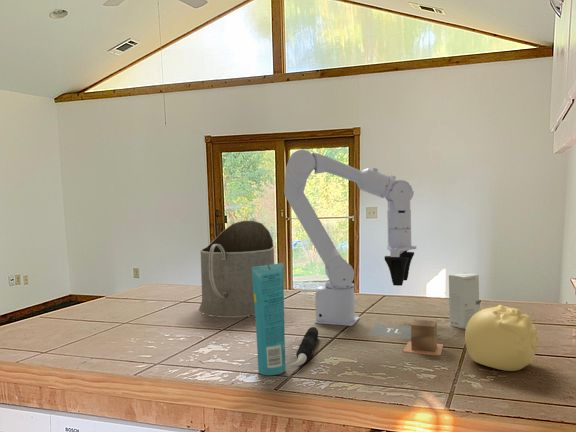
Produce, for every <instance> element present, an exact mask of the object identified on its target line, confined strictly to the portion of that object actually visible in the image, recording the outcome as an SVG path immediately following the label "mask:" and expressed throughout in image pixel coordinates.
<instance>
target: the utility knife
mask: <svg viewBox="0 0 576 432" xmlns="http://www.w3.org/2000/svg"><path fill="white" fill-rule="evenodd" d="M318 337H319V330H318V328H316V327H315V326H311V327H309V328H308V329H307V330H306V332H305V334H304V336H303V338H302V339H301V343H300V344H299V347H298V348H297V351H296V359H297V360H296V361H295V362H292V363H290V364H285V367H299V366H301V365H303V364H305V363H307V362H309V361H310V360H311V358H312V355H313V353H314V350H315V348H316V347H315V346H316V344H317V341H318Z"/></svg>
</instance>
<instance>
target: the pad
mask: <svg viewBox="0 0 576 432" xmlns="http://www.w3.org/2000/svg"><path fill="white" fill-rule="evenodd" d="M443 349H444V343H437V347H436V350H435V352H429V351H418V350H412V348H411V341H410V340H408V342H407V343H406V345H405V347H404V349H403V351H402V352H403V353H410V354H418V355H419V354H420V355H428V356H429V355H430V356H440V357H441V355H442V351H443Z"/></svg>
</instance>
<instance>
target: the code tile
mask: <svg viewBox="0 0 576 432" xmlns="http://www.w3.org/2000/svg"><path fill="white" fill-rule="evenodd" d="M366 335H367V336H371V337H372V336H375V337H383V338H384V337H385V338H386V337H387V338H398V339H408V340H411V325H409V326H407V325H397V324H394V325H393V324H381V323H375V324H374V326H373V327H372V328H371V329H370V331H369V332H368V333H367V334H366Z"/></svg>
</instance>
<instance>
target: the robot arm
mask: <svg viewBox="0 0 576 432" xmlns="http://www.w3.org/2000/svg"><path fill="white" fill-rule="evenodd" d="M313 171H314V174H315V175H316V174H324V173H327V174H330V175H332V176H333V175H334V176H337V177H339V178H342V179H345V180H348V181H351V182H354V183H355V184H356V185H357V188H358V189H359V190H360V191H363V192H365V193H367V194H370V195H373V196H376V197H379V198H381V199H384V198H385V200H386V201H387V211H386V213H387V214H386V215H387V216H386V217H387V246H386V249H387V250H388V251H389V253H390V255H385V256H384V261H385V263H386V265H387V268H388V271H389V273H390V277H391V282H392V285H393V286H396V287H398V286H399V287H401V286H403V284H404V281H408V279H409V271H410V266H411V262H412V260H413V257H414V256H415V252H414V251H410V250H417V245H412V210H411V200H412V199H413V197H414V192H415V191H414V190H413V187H412V185H410V183H409V182H408V181H406V180H403V179H399V180H397V179H396V176H395V175H387V174H385V173H382V172H380V171H379V169H378V168H376V167H371V168H370V167H367V168H365V169H362V170H360V169H357V168H356V167H353V166H351V165H348V164H346V163H344V162H341V161H339V160H336V159H334V158H332V157H329V156H326V155H324V154H321V153H319V152H318V153H317V152H312V153H311V152H310V151H308V150H307V149H298V150H295V151H294V152H293V153H292V154H291V155H290V157H289V159H288V161H287V164H286V166H285V175H284V185H283V186H284V187H283V189H284V190H283V193H284V197H285V198H286V200H287V201H288V204H289V206H290V207H291V208H292V211H293V212H294V214H295V216H296V218H297V220H298V221H299V223H300V225H301V226H302V228H303V229H304V231H305V233H306V235H307V236H308V238H309V239H310V242H311V243H312V245H313V246H314V248H315V250H316V252H317V253H318V255H319V257H320V258H321V260H322V262H323V264H324V268H325V270H324V271H325V274H326V277H327V278H328V280H327V281H326V282H325V284H324V285H318V286H317V288H316V291H315V321H314V323H315V324H321V325H333V326H335V325H337V326H349V327H351V326H352V327H353V325H354V324H356V323H357V321H358V320H360V316H356V313H355V312H356V311H355V310H356V309H355V308H356V306H355V283H353V281H354V279H355V269H354V268H353V267H352V265H351V264H349V262H348V261H347V260H345V259H344V258H343V257H342V255H341V254H340V252H339V250H338V248H336V246H335V243H334V242H333V241H332V238H331V237H330V235H329V234H328V232H327V230H326V228H325V227H324V225H323V224H322V222H321V220H320V218H319V216H318V215H317V213H316V212H315V210H314V207H313V206H312V205H311V203H310V201H309V199H308V197H307V196H306V194H305V192H304V191H305V190H306V189H305V188H306V185H307V181H308V178H309V177H310V176H311V174H312V172H313Z"/></svg>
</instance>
